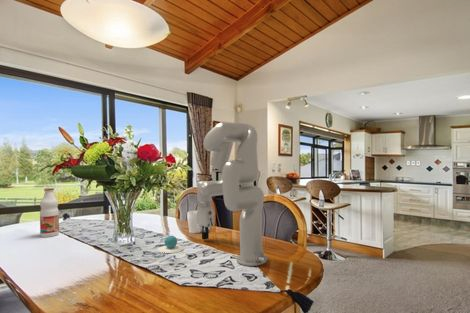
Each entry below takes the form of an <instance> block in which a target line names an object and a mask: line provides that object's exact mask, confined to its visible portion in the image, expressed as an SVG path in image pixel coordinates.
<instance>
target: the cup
mask: <svg viewBox="0 0 470 313" xmlns="http://www.w3.org/2000/svg"><path fill="white" fill-rule="evenodd" d="M186 214H187V215H186V216H187V217H186V218H187V223H188V230H189V231H188V232H189V234H200V233H202V231H201V227H200V226H199V224H198V223H197V210H188V211H187V213H186Z"/></svg>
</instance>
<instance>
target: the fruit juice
mask: <svg viewBox="0 0 470 313" xmlns="http://www.w3.org/2000/svg"><path fill="white" fill-rule="evenodd" d="M43 189H44V190H43V191H44V195H43V197H42V199H41V200H40V202H39V205H40V211H39V224H40V225H39V228H40V229H39V233H40V235H39V236H40V237H41V238H51V237H56V236H58V235H59V234H60V213H59V212H60V210H59V208H58V207H59V200H58V199H57V198H56V196H55V193H54V191H55V188H54V187H46V188H45V187H44V188H43Z"/></svg>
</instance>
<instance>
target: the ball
mask: <svg viewBox="0 0 470 313" xmlns="http://www.w3.org/2000/svg"><path fill="white" fill-rule="evenodd" d="M176 245H178V239H177V238H176V237H175V235H167V236H166V238H165V239H164V246H166V247H168V248H173V247H175V246H176Z"/></svg>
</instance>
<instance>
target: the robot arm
mask: <svg viewBox="0 0 470 313" xmlns="http://www.w3.org/2000/svg"><path fill="white" fill-rule="evenodd" d="M234 143H239V144H238V146H237V150H236V155H237V156H236V157H237V158H236V160H230V161H229V159H230V157H231V154H232V149H233V147H234ZM257 145H258V132H257V130H256V127H254V126H253V125H251V124H248V123H244V122H243V123H242V122H227V121H222V122H219V123H217V124H216V125H215V126H214V127H213V128H211V129H210V130H209V131H208V132H207V134H206V135H205V137H204V138H203V147H204V150H205V151H207V152H211V153H212V154H211V156H210V161H209V162H210V166H212V167H213V168H215V169H217V170H219V171H221V178H220V180H212V181H209V180H200V181H198V182H197V183H196V190H197V191H196V192H197V193H196V195H197V196H196V197H197V198H196V199H197V203H196V204H197V210H196V211H197V223H198V224H199V226H200V227H201V239H202V240H204V241H205V240H209V234H210V233H209V232H210V230H212V228H213V226H214V225H215V215H214V209H213V204H212V203H213V201H212V200H213V198H212V197H215V196H216V197H217V196H223V202H224V206H225V208H226V210H228V211H231V212H238V211H241V212H240V216H239V222H238V223H239V255H238V256H237V257H236V262H237V263H238V264H240V265H241V266H246V267H247V266H249V267H253V266H255V267H256V266H261V265H264V264H265V263H267V261H268V260H269V256H268V255H265V251H264V250H263V206H264V201H265V194H264V192H263V190H262V189H261V188H260V187H259V186H256V185H244V186H240V184H248V183H253V182H255V181H256V180H258V178H259V164H258V151H257V149H258V148H257Z"/></svg>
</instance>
